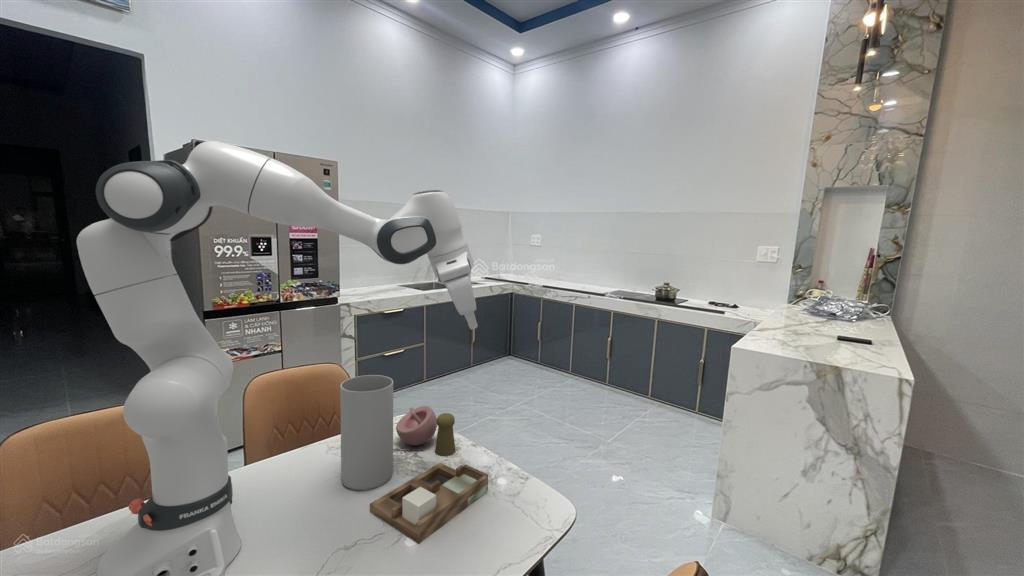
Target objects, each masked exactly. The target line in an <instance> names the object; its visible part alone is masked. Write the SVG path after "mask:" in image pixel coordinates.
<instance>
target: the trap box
mask: <svg viewBox="0 0 1024 576" xmlns="http://www.w3.org/2000/svg"><path fill="white" fill-rule="evenodd" d="M419 487H422V488H424V489H426V490H428V491H429V492H431V493H433V494H435V495H436V510H434V511H433V512H431V513H430V514H428V515H427V516H426V517H424V518H423V519H421V520H420V521H418V522H417V523H415V525H414V524H412V523H411V522H409V521H408V520H406V519H404V518H403V517H402V498H403V497H404V496H406V495H407V494H409V493H411V492H412V491H414V490H416V489H417V488H419ZM488 488H489V474H488V473H486V472H484V471H482V470H479V469H476V468H475V467H473V466H471V465H468V464H467V463H466V464H464V465H463V464H462V465H460V466H458V467H457V468H455V469H454V468H452V467H451V466H448V465H446V464H444V463H441V462H439V463H437V464H435V465H434V466H432V467H430V468H429V469H427V470H425V471H424V472H422V473H420V474H418V475H417V476H415V477H413V478H411V479H410V480H408V481H406V482H404V483H403V484H401V485H399V486H397V487H396V488H395V489H392V490H390V491H389V492H387V493H385V494H384V495H382V496H380V497H378V498H377V499H375V500H373V501H371V502H370V503H369V513H371V514H372V515H373V516H375V517H376V518H379V520H381V521H383V522H384V523H385V524H387V525H389V526H390V527H392V528H393V529H395V530H397V531H398V532H399V533H400V534H403V535H404V536H406V537H407V538H409V539H410V540H412V541H413V542H415V543H416V544H417V545H419V544H421V543H422V542H423V541H425V540H426V539H427V538H429V537H430V536H431V535H432V534H434V533H435V532H436V531H437V530H439V529H440V528H442V527H443V526H444V525H445V524H447V523H448V522H450V521H451V520H452V519H454V518H455V517H457V515H459V514H460V513H461V512H463V511H465V509H466V508H468V507H469V506H471V505H472V504H473V503H475V502H476V501H478V500H479V499H480V498H481V497H483V496H484V495H485V494H487V492H488Z"/></svg>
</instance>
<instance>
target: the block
mask: <svg viewBox="0 0 1024 576" xmlns="http://www.w3.org/2000/svg"><path fill="white" fill-rule="evenodd" d="M434 510H436V495H435V494H433V493H431V492H429V491H428V490H426V489H424V488H422V487H419V488H417V489H416V490H414V491H412V492H411V493H409V494H407V495H406V496H404V497H403V498H402V517H403V518H404V519H406V520H408V521H409V522H411V523H412V524H414V525H415V523H417V522H418V521H420V520H421V519H423V518H424V517H426V516H427V515H428V514H430V513H431V512H433V511H434Z"/></svg>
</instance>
